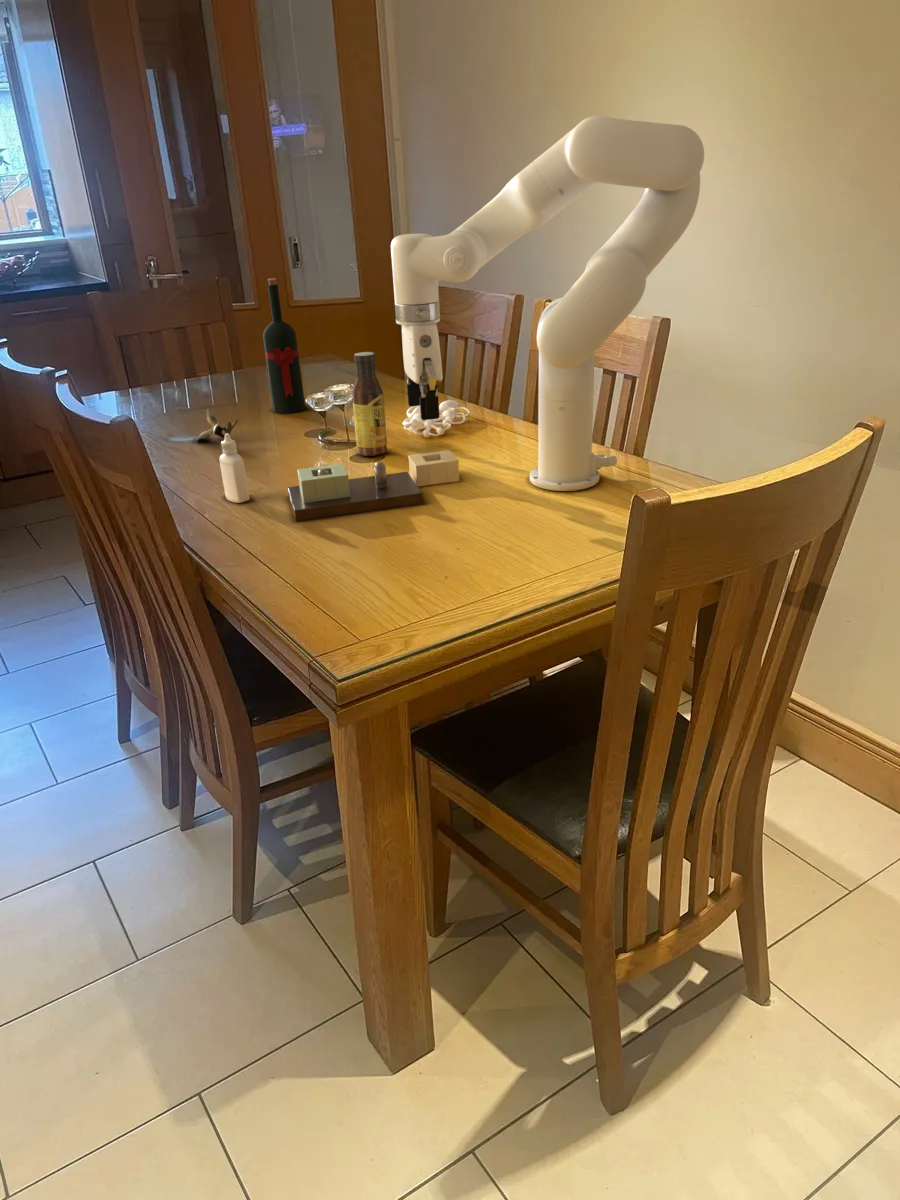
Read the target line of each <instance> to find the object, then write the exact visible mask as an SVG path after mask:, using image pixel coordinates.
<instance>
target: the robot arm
mask: <svg viewBox="0 0 900 1200" xmlns="http://www.w3.org/2000/svg"><path fill="white" fill-rule="evenodd" d="M702 141H703V140H702V139H701V137H700V136H699V134H698V133H697V132H696V131H694V130H693V129H692V128H690V127H688V126H686V125H681V124H672V123H661V122H652V121H651V122H650V121H642V120H641V121H640V120H632V119H631V120H630V119H622V118H617V117H610V116H604V115H592V116H589V117H587V118H586V117H585V119H583V120H581V121H580V122H579V123H578V124H577V125H576V126H575V127H573V128H571V130H570V131H568V132H567V133H566V134H564V135H563V136H562V137H561V138H560V139H559V140H557V141H556V142H555V143H554V144H553V145H551V146H550V147H548V149H547V150H545V151H544V152H543V153H541V154H540V155H539V156H538V157H536V158H535V159H533V161H532V162H530V163H529V164H528V165H527V166H525V167H524V168H523V169H521V170H520V171H519V172H518V173H517V174H515V175H514V176H513V177H512V178H511V179H510V180H509V181H508V182H507V183H506V185H504V187H503V188H502V189H501V191H500V192H498V194H496V196H495V197H493V198H492V199H491V200H490V201H489V202H488V203H486V204H485V205H484V206H482V208H480V209H479V210H478V211H477V212H475V213H474V214H473V215H472V216H470V217H469V218H468V219H467V220H466V221H464V222H463V223H462V224H461V225H459V226H458V227H457V228H455V229H454V230H453V231H451V232H450V233H448V234H444V235H438V236H433V235H431V234H428V233H405V234H400V235H396V236H395V237H394V238H392V240H391V243H390V254H391V255H390V258H391V269H392V283H393V295H394V310H395V312H394V313H395V323H396V324H397V325H400V326H401V342H402V343H401V344H402V358H403V359H402V360H403V369H404V373H405V375H406V383H407V384H406V388H407V391H406V393H407V404H408V406H409V408H410V407H412V406H420V412H421V419H422V420H430V419H438V418H439V415H440V413H439V406H440V403H439V401H440V399H439V390H438V384H437V382H438V383H440V382H442V381H443V367H442V356H441V355H442V354H441V346H440V336H439V330H438V325H437V323H440V322H441V313H440V294H439V293H440V292H439V282H448V283H457V284H458V283H464V282H467V281H469V280H471V279H473V277H474V276H475V275H476V274H477V273H478V271H479V270H480V269H481V268H483V266H485V265H486V264H487V263H488V262H490V261H491V260H492V259H494V258H495V257H496V256H497V255H499V254H500V253H501V252H503V251H504V250H505V249H507V247H509V246H510V245H512V244H513V243H514V242H516V241H517V240H519V239H520V238H522V237H523V236H524V235H526V234H528V233H530V232H532V231H535V230H538V229H539V228H541V227H542V226H544V225H545V224H547V223H548V222H549V221H550V220H552V219H553V218H554V217H555V216H557V215H559V213H561V211H563V210H564V209H566V208H567V207H568V206H569V205H571V204H572V203H574V202H575V201H577V199H579V198H580V197H581V196H582V195H584V194H586V192H588V191H589V190H590V189H592V188H593V187H594V186H595V185H597V184H598V183H600V184H601V183H602V184H608V185H615V186H622V187H632V188H639V189H641V188H642V189H644V192H643V194H642V196H641V198H640V200H639V202H638V203H637V205H636V206H635V207H634V209H632V210H631V212H630V213H629V214H628V215H627V217H626V218H625V219H624V221H623V222H622V223H621V224H620V226H619V227H618V228H617V229H616V230H615V231H614V233H613V234H612V235H611V236H610V237H609V238H608V239H607V241H605V243H604V244H603V245H602V246H601V247H600V248H599V249H598V250H597V251H596V252H595V253H594V254H593V255H592V256H591V257H590V258H589V259H588V261H587V263H586V265H585V268H584V271H583V273H582V274H581V275H580V276H579V278H578V279H577V280H576V281H575V282H574V283H573V284H572V286H571V287H570V288H569V289H568V290H567V292H566V293H565V294H564V295H563V297H559V298H556V299H554V300H553V301H551V302H550V303H549V304H548V305H547V306H546V307H545V308H544V309H543V311H542V313H541V315H540V316H539V320H538V324H537V330H536V346H537V349H538V394H537V396H538V401H537V402H538V403H537V404H538V406H537V407H538V408H537V409H538V411H537V412H538V416H537V418H538V419H537V421H538V422H537V426H538V427H537V428H538V429H537V430H538V431H537V432H538V433H537V435H538V438H537V441H538V442H537V443H538V445H537V446H538V447H537V449H538V451H537V453H538V454H537V459H538V460H537V461H538V462H537V463H538V464H537V465H538V466H537V467H535V468H533V469H532V470H531V471H530V472H529V482H530V483H531V484H532V485H534V486H535V487H538V488H539V489H543V490H549V491H556V492H574V491H580V490H585V489H589V488H591V487H594V486H595V485H597V484H598V483H599V482H600V472H599V470H601V468H605V467H606V468H608V467H614V466H617V464H618V458H617V456H616V455H615V454H612V455H605V454H604V453H596V454H594V453H593V450H592V449H593V423H594V421H593V420H594V419H593V418H594V396H595V363H596V362H595V359H596V351H597V350H599V348H601V346H602V345H603V344H604V343H605V342H606V341H607V339H608V338H610V336H611V335H612V334H613V333H614V332H615V331H616V330H617V329H618V328H619V327H620V325H621V324H622V323H624V321H625V320H626V319H627V317H628V316H629V315H631V313H632V312H633V311H634V310H635V308H636V307H637V305H639V303H640V301H641V299H642V297H643V296H644V293H645V290H646V287H647V285H646V284H647V278H648V277H649V276H650V274H651V273H652V272H653V271H654V270H655V268H656V267H657V266H658V265H659V264H660V263H661V262H662V260H663V259H665V257H666V255H667V254H668V253H669V252H670V251H671V250H672V249H673V247H674V246H675V245H676V244H677V242H678V241H679V240H680V239H681V238H682V236H683V234H684V233H685V231H686V230H687V228H688V227H689V226H690V224H691V221H692V219H693V217H694V215H695V212H696V209H697V206H698V202H699V197H700V191H701V190H700V189H701V171H702V169H703V166H704V161H705V148H704V147H705V146H704V144H703V142H702Z"/></svg>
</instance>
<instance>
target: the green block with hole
mask: <svg viewBox="0 0 900 1200" xmlns="http://www.w3.org/2000/svg"><path fill="white" fill-rule="evenodd" d="M320 469H326V470H327V471H328V472H329V475H322V476H317V473H318V471H319V470H320ZM296 471H297V478H298V486H299V487H300V492H301V495H302V498H303V501H304V503H309V502H316V501H323V500H331V499H339V498H346V497H350V488H349V479H350V478H349V474H348V472H347V469H346V468H345V466H344V464H343V463H335V464H329V465H328V464H327V465H320V466H311V467H305V468H298V469H296Z"/></svg>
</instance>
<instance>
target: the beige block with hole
mask: <svg viewBox="0 0 900 1200" xmlns="http://www.w3.org/2000/svg"><path fill="white" fill-rule="evenodd" d="M407 460H408V471H409V472H408V473H409V475H410V476H411V478H412V479H413V481H414V482H415V483H416V485H417V486H418V487H424V486H432V485H439V484H448V483H454V482H460V465H459V460H458V458H457V457H456V455H454V453H452V451H450V449H447V450H442V451H441V450H439V451H431V452H424V453H416V454H409V455H408V457H407Z"/></svg>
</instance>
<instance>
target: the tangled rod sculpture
mask: <svg viewBox="0 0 900 1200" xmlns="http://www.w3.org/2000/svg"><path fill="white" fill-rule="evenodd" d="M458 410H465V411H466V412H467V413H466V414H465V413H464V412H456V411H458ZM470 415H471V411H470V409H468V407H465V406H461V403H460V401H457V400H454V399H448V400H444V401H443V402H441V403H439V418H438V419H430V420H422V419H421V412H420V406H412V407H410V406H409V408H408V409H407V410H406V417H407V418H405V419H404V420H403V422H402V426H403V429H404V430H405V431H408V432H409V433H410V434H415V435H419V436H423V437H424V438H427V439H428V438H429V437H430V436H433V437H438V436H443V435H444V433H445V431H447V430H449V429H450V428H452V425H462V424H464V423H465V422H466V417H469V416H470ZM456 418H457V419H461V418H462V420H461V421H456ZM408 426H409V427H408ZM438 426H439V427H438ZM432 429H434V430H435V432H436V433H432V432H431V431H430V430H432ZM419 430H423V431H422V432H418V431H419Z"/></svg>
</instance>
